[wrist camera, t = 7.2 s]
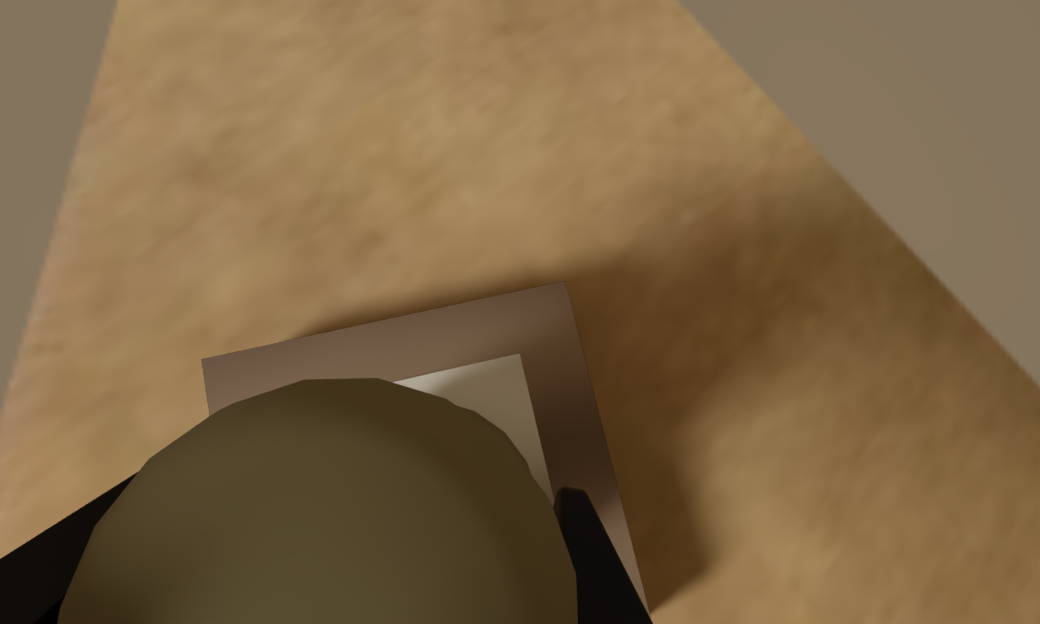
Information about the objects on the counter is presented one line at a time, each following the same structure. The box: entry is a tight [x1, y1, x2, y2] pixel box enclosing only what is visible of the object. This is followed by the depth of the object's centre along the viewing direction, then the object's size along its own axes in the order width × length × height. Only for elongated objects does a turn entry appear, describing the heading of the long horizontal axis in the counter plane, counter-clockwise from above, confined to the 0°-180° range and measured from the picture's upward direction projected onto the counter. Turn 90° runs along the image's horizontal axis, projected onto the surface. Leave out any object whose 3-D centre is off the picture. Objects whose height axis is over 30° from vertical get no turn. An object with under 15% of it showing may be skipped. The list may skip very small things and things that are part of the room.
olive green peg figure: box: [57, 378, 578, 624], centre depth 11 cm, size 6×6×11 cm
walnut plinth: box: [201, 281, 651, 619], centre depth 19 cm, size 11×11×3 cm
